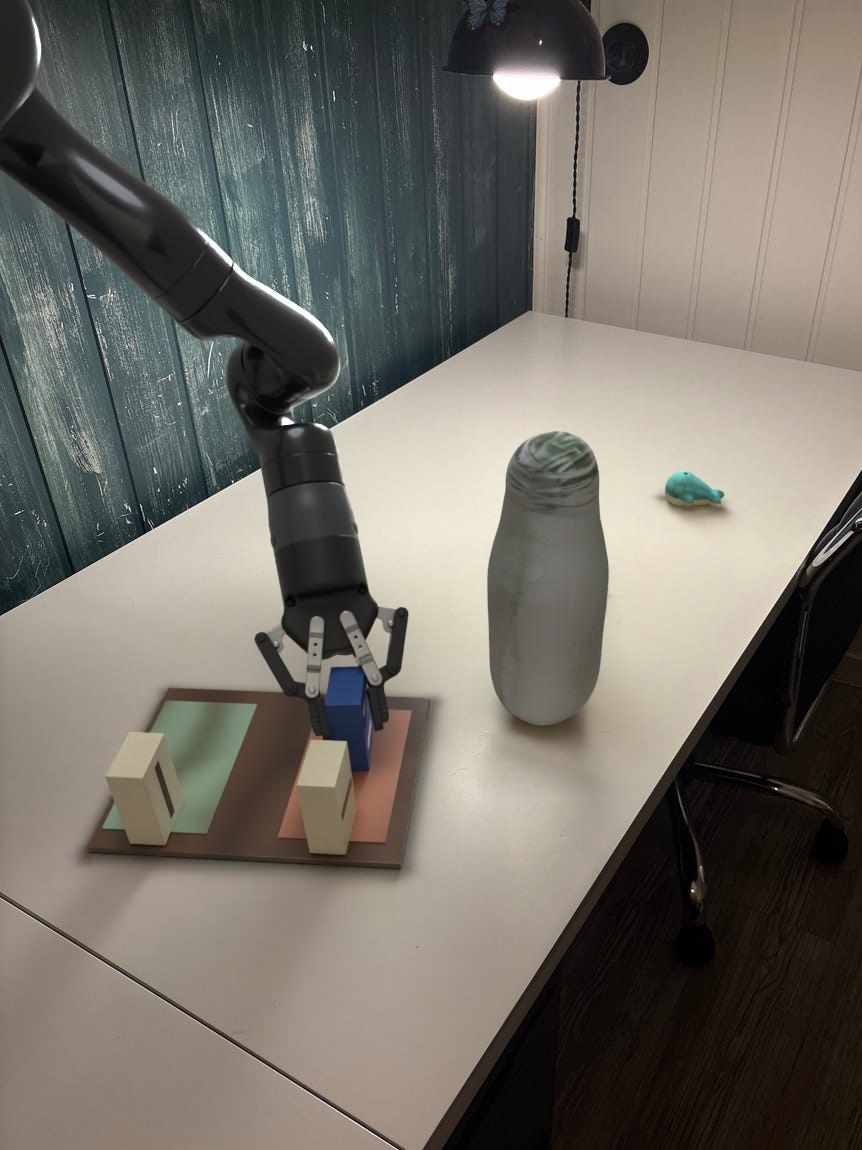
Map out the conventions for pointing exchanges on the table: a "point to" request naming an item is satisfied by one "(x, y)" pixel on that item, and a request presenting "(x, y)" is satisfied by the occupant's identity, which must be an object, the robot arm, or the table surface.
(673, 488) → the whale figurine
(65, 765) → the table surface
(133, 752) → the tile
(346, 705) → the blue rectangular block
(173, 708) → the brown flat rectangular board
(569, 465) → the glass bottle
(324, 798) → the tile
